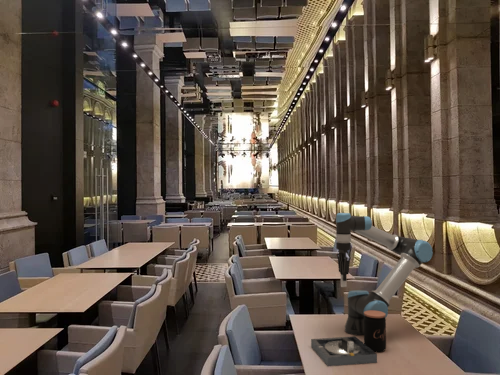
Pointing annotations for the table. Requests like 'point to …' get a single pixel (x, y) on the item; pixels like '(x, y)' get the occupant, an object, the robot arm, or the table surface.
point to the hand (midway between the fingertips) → (343, 286)
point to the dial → (342, 347)
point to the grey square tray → (347, 359)
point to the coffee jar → (375, 330)
